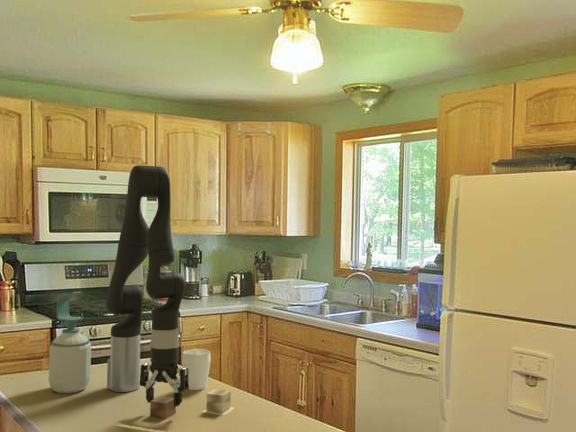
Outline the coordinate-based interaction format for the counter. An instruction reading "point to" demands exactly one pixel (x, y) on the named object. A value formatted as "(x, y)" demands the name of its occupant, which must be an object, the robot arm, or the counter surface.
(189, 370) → the cup
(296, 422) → the counter surface
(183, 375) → the robot arm
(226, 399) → the maple block
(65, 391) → the soap bottle
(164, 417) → the walnut block
